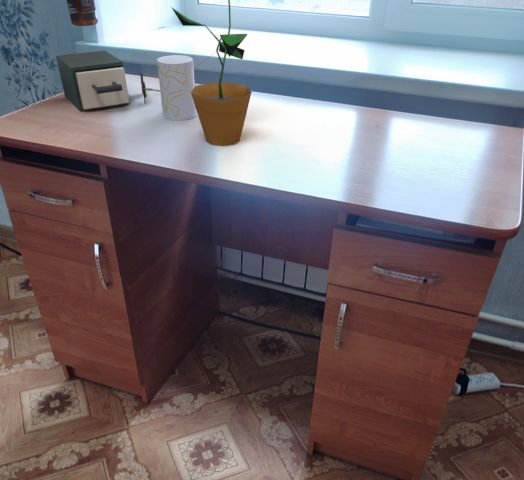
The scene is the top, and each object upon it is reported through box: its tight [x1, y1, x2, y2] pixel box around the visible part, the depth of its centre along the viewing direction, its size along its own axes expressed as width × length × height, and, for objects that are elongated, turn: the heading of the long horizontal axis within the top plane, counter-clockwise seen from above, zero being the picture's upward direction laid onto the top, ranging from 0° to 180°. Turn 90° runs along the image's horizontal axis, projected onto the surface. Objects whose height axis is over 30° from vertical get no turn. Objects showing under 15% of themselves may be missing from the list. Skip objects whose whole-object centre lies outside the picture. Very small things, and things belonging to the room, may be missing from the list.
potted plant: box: [170, 0, 253, 147], centre depth 101 cm, size 18×19×30 cm
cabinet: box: [55, 50, 130, 112], centre depth 127 cm, size 14×13×10 cm
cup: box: [156, 54, 198, 121], centre depth 119 cm, size 8×8×12 cm
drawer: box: [75, 66, 130, 109], centre depth 124 cm, size 17×11×8 cm, turn 31°
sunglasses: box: [139, 72, 161, 104], centre depth 132 cm, size 14×15×5 cm
